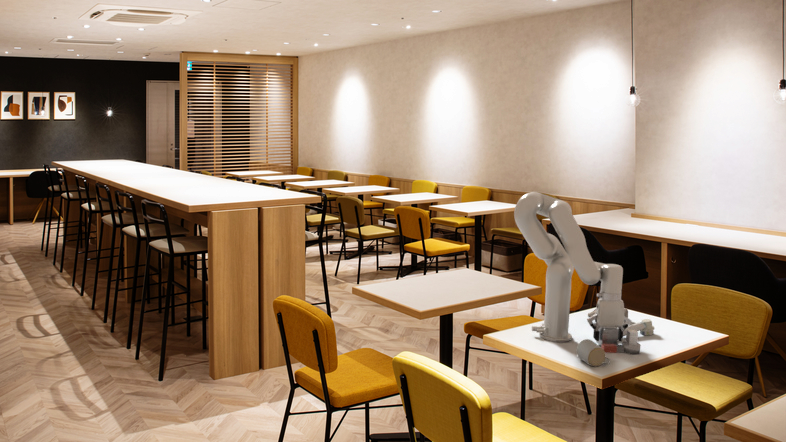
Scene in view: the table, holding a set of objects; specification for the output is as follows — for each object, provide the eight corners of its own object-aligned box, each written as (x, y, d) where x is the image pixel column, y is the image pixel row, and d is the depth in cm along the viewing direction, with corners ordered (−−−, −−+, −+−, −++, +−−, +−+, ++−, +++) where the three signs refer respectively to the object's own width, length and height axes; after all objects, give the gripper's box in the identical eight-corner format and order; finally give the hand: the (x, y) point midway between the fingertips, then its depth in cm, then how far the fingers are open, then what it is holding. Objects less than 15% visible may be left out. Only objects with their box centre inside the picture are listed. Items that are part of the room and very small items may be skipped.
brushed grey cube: (601, 346, 231) (603, 329, 230) (596, 341, 237) (597, 324, 236) (617, 347, 231) (618, 329, 230) (611, 342, 237) (612, 324, 236)
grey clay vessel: (599, 336, 269) (593, 327, 257) (590, 319, 274) (584, 309, 262) (633, 321, 265) (629, 310, 253) (624, 304, 270) (619, 292, 258)
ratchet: (605, 354, 223) (607, 333, 222) (599, 348, 229) (600, 327, 228) (642, 354, 223) (644, 333, 222) (635, 348, 229) (637, 328, 228)
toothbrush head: (601, 329, 240) (646, 314, 251) (602, 345, 242) (647, 329, 252) (611, 333, 236) (657, 318, 246) (612, 349, 237) (657, 333, 247)
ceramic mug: (588, 368, 208) (589, 346, 207) (575, 360, 216) (576, 339, 215) (614, 366, 211) (616, 345, 210) (601, 358, 219) (602, 338, 218)
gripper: (591, 298, 228) (588, 343, 230) (637, 299, 228) (634, 343, 230) (584, 293, 235) (582, 336, 237) (629, 294, 235) (626, 337, 238)
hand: (607, 340), depth 234 cm, fingers open, 8 cm apart
